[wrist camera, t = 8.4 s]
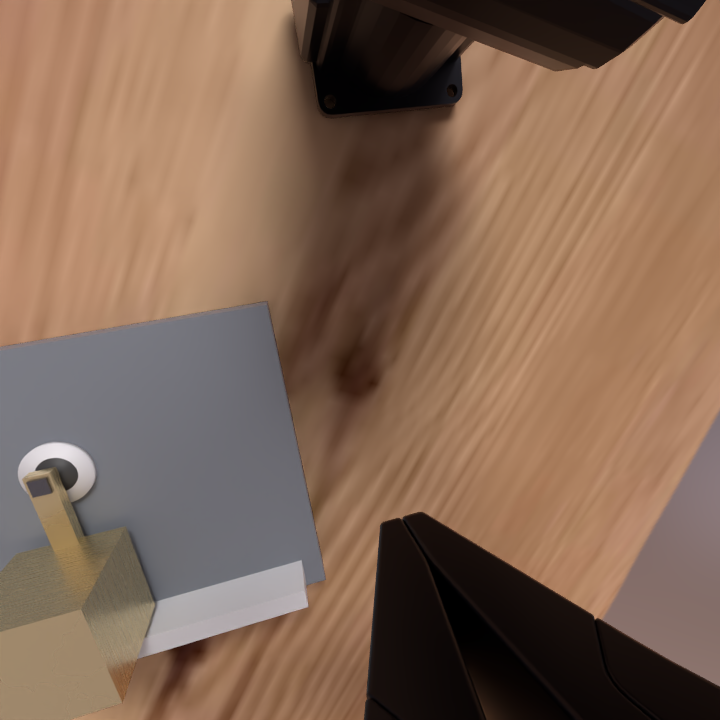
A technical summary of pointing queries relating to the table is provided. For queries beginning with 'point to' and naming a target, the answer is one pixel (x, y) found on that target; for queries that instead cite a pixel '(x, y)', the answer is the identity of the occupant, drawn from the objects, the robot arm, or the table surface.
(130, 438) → the hole plate
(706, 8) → the table surface
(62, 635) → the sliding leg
